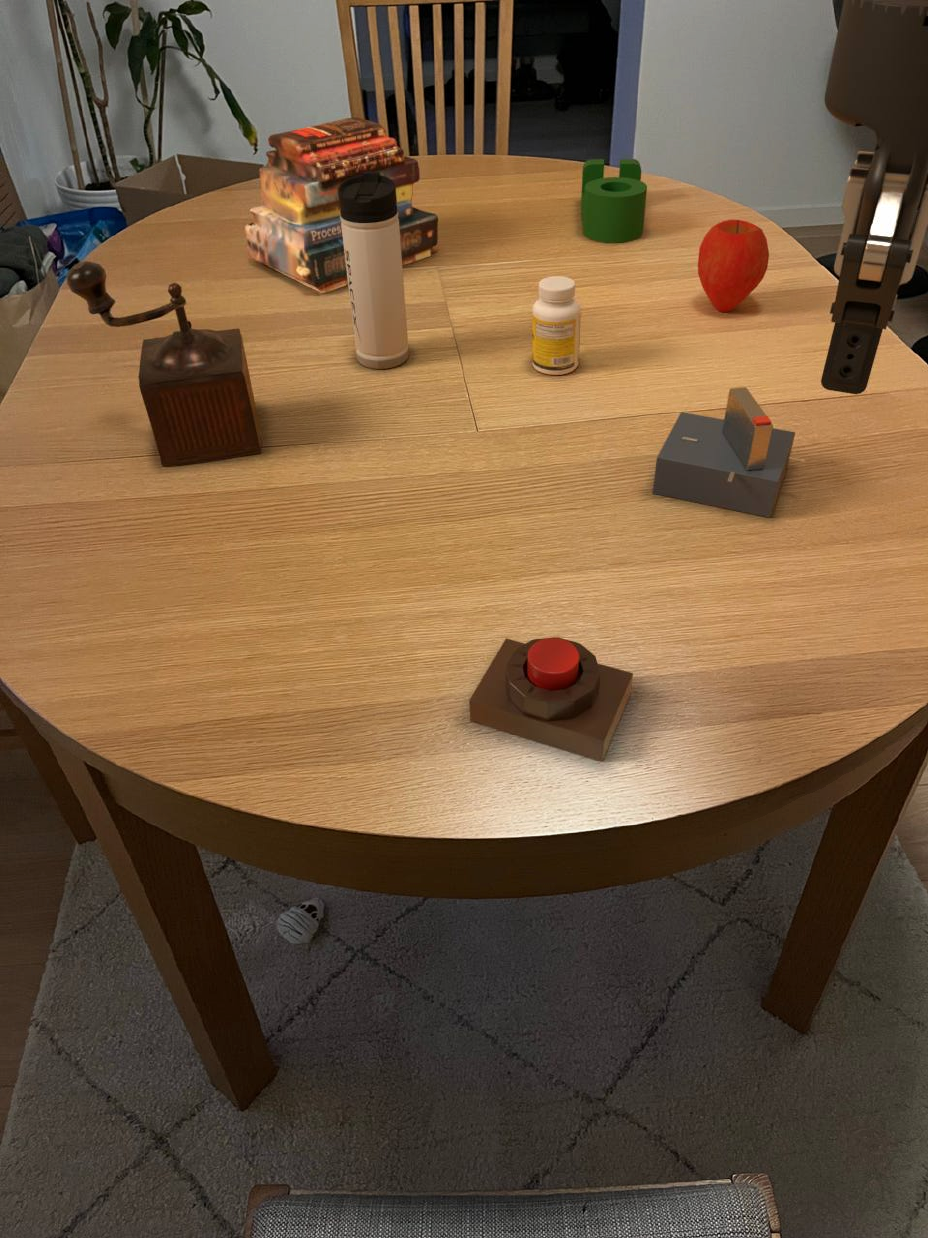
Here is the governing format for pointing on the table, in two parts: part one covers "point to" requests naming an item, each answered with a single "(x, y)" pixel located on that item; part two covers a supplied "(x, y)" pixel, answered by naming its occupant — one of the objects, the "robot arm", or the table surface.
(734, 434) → the red-tipped tan bar
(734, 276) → the apple
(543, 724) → the button block
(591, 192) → the slotted cylinder bracket
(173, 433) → the manual coffee grinder
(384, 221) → the travel mug
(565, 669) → the red push button
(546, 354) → the supplement bottle
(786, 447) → the grey slotted base
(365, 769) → the table surface
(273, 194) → the book
